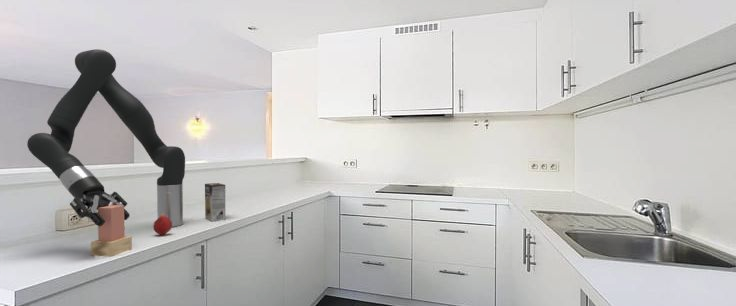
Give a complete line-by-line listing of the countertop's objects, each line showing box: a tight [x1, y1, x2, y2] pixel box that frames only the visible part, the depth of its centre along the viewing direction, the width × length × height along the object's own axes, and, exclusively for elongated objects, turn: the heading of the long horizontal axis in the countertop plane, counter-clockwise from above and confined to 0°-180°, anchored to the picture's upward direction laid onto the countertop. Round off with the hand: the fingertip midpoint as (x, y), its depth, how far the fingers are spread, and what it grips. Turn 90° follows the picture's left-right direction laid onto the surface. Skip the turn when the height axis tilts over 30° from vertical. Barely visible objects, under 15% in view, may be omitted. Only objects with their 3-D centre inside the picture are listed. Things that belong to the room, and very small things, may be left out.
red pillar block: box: [97, 204, 126, 241], centre depth 101 cm, size 4×4×10 cm
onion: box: [153, 214, 173, 236], centre depth 122 cm, size 6×6×8 cm
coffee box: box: [204, 182, 226, 222], centre depth 150 cm, size 9×6×16 cm
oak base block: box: [90, 235, 133, 257], centre depth 101 cm, size 7×7×4 cm
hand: (115, 221), depth 101 cm, fingers open, 8 cm apart
